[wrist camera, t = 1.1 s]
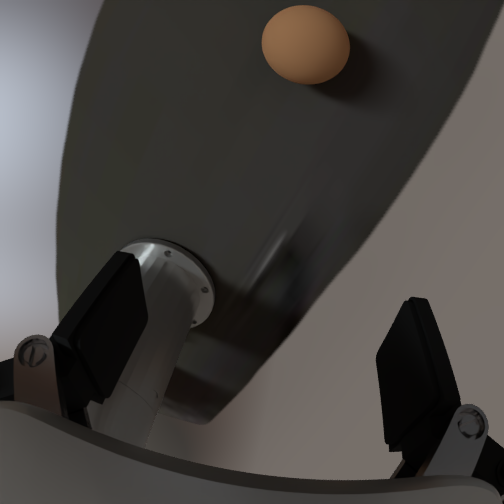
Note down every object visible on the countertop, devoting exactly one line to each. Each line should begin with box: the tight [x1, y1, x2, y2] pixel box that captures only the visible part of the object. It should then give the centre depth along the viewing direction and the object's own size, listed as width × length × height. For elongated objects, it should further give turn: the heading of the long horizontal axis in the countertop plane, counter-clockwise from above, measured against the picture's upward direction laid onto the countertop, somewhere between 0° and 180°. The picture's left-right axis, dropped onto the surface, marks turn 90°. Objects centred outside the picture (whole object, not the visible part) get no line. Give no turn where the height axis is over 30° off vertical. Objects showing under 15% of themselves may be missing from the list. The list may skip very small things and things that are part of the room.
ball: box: [262, 5, 350, 84], centre depth 17 cm, size 6×6×6 cm
